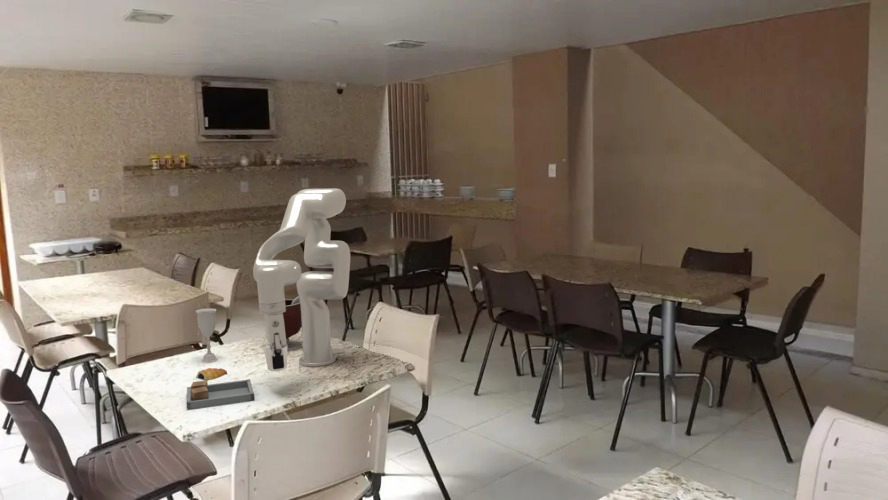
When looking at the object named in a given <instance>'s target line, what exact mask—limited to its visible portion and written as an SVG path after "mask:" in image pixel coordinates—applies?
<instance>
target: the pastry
mask: <svg viewBox="0 0 888 500" xmlns="http://www.w3.org/2000/svg"><path fill="white" fill-rule="evenodd" d="M225 375H228V371H227V370H226V369H223V368H221V367H219V368H217V367H216V368H213V367H212V368H211V367H208V368H205V369H201V370H199V371H198V372H197V374H196V377H195V378H196V379H200V380H203V381H207V382H209V381H213V380H217V379H218V378H221V377H223V376H225Z"/></svg>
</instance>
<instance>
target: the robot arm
mask: <svg viewBox="0 0 888 500" xmlns="http://www.w3.org/2000/svg"><path fill="white" fill-rule="evenodd" d="M346 205H347V199H346V194H345V193H344V191H343V190H342V189H340V188H305V189H301V190H299V191H298V192H297V193H295V194H292V195H291V197H290V198H289V201H288V203H287V206H286V208H285V212H284V216H283V219H282V221H281V222H282V223H281V224H280V225H281V226H280V228H279V230H278V231H276V232H275V233H274V234H272V235H271V236H270V237H269V238H268V239H267V240H266V241H264V243H263V244H261V246H260V247H259V249H258V252H257V254H256V258H255V260H254V263H253V268H252V269H253V270H252V275H253V279H254V281H255V282H256V284H257V285H256V286H257V296H258V308H259V314H260V315H263V316H264V317H263V318H264V319H263V320H264V329H265V330H264V331H265V335H266V339H267V343H268V344H269V346H270V347H272V352H273V356H272V362H273V369H281V368H284V358H283V352H282V344H283V345H284V346H285V345H286V344H287V343H286V335H285V325H284V318H283V312H285V311H286V306H285V300H286V296H285V287H287V286H291V285H294V284H296V291H297V295H298V296H299V299H300V300H299V301H300V306H301V321H302V327H301V338H302V354H303V355H302V356H301V357H299V359H298V363H299V365H301V366H304V367H305V366H306V367H321V366H327V365H331V364H333V363H334V362H336V360H337V359H336V356H337V355H345V353H346V352H345V348H340V347H336V348H333V347H332V344H331V328H330V327H331V323H330V322H331V321H330V311H329V308H328V305H327V304H326V302H325V301H324V300H331V301H332V300H336V301H338V300H339V301H340V300H343V299H344V298H346V296H348V295H347V294H348V291H349V281H350V272H351V271H350V267H351V249H350V247H349V245H348V243H347V242H345V241H343V240H331V233H332V232H331V231H332V229H331V224H330V223H329V221H328V220H327V219H330V218H333V217H336V215H339V214H341V213H342V212H343V211H344V210H345V207H346ZM303 242H304V251H303V261H304V264H305V265H306V266H307V267H309V268H313V269H314V268H315V269H333V271H322V270H321V271H320V270H319V271H311V270H310V271H306V272H302V266H301V265H300V264H299V262H297V261H296V260H290V259H274V257H276V256H277V255H278V254H280V253H281V252H283V251H285V250H288V249H290V248H293V247H295V246H297V245H299V244H301V243H303ZM281 342H282V344H281ZM273 344H275V345H276V346H273ZM274 348H276V349H275V350H274Z"/></svg>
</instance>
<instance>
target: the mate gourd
mask: <svg viewBox="0 0 888 500" xmlns="http://www.w3.org/2000/svg"><path fill="white" fill-rule="evenodd" d="M285 306H286V311H285V312H283V318H284V325H285V335H286V343H287V352H291V351H296V350H299V349H301V348H303V342H300V341H295V340H294V341H293V340H292V341H291V340H290V337H292V336H293V337H294V336H295V335H297V334H299V332H300V330H302V321H301V306H300V299H299V295H298V296H296V297H295V298H294V299H287V298H285Z"/></svg>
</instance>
